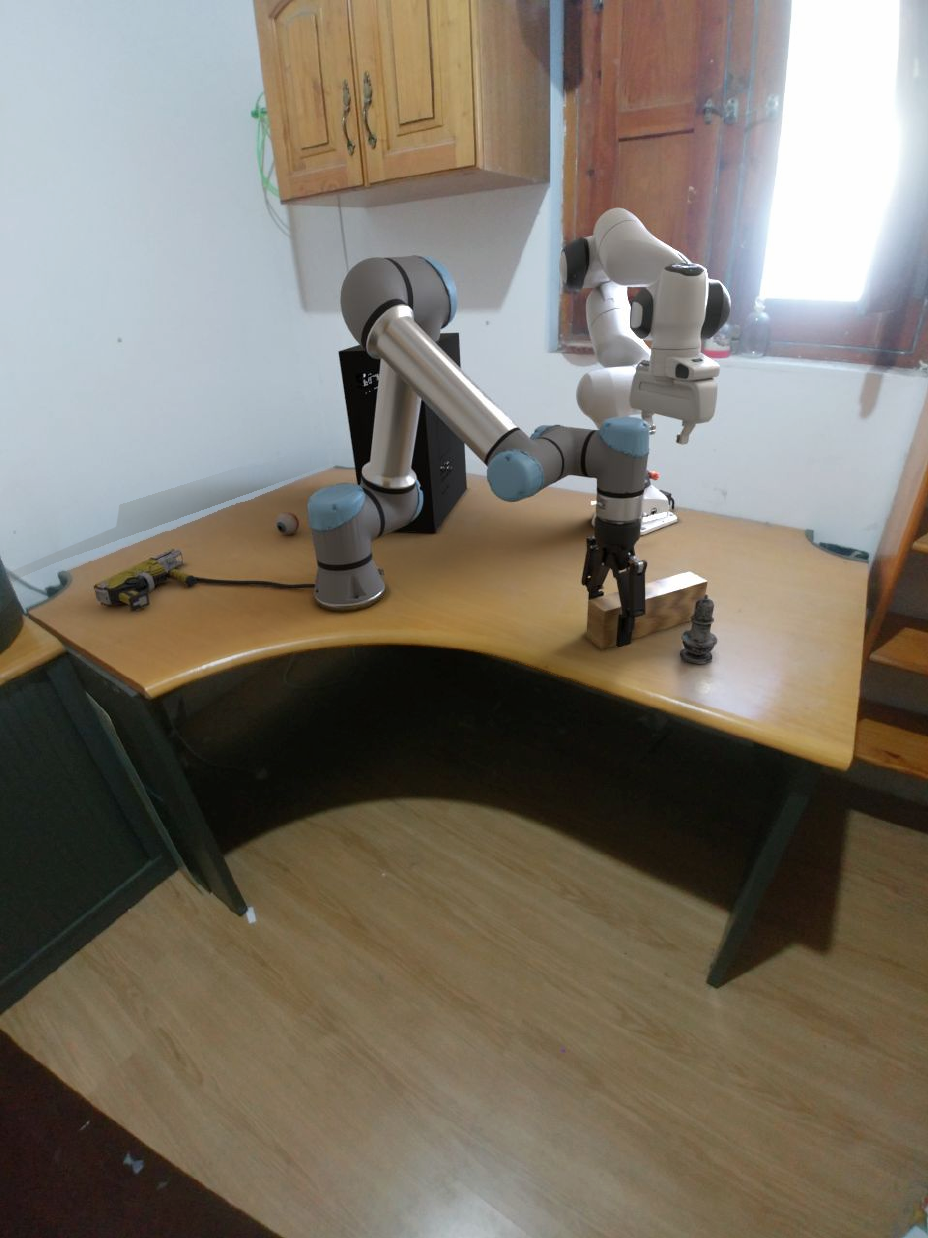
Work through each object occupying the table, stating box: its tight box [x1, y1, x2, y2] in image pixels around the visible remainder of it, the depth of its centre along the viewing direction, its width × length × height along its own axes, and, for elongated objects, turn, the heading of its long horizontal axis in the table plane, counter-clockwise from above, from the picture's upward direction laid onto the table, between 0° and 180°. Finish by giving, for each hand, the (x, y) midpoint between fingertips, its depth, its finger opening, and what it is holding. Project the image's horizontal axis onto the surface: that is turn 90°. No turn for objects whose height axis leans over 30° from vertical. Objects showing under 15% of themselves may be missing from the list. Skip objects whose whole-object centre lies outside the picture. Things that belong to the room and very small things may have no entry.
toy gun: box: [93, 548, 197, 612], centre depth 139 cm, size 5×24×15 cm
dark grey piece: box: [679, 593, 718, 665], centre depth 102 cm, size 6×6×12 cm
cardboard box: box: [338, 332, 468, 534], centre depth 167 cm, size 38×20×45 cm, turn 167°
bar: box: [585, 571, 708, 650], centre depth 112 cm, size 23×5×8 cm, turn 115°
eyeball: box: [275, 511, 300, 536], centre depth 163 cm, size 6×6×6 cm
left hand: (608, 633), depth 111 cm, fingers open, 8 cm apart
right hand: (665, 438), depth 120 cm, fingers open, 8 cm apart
